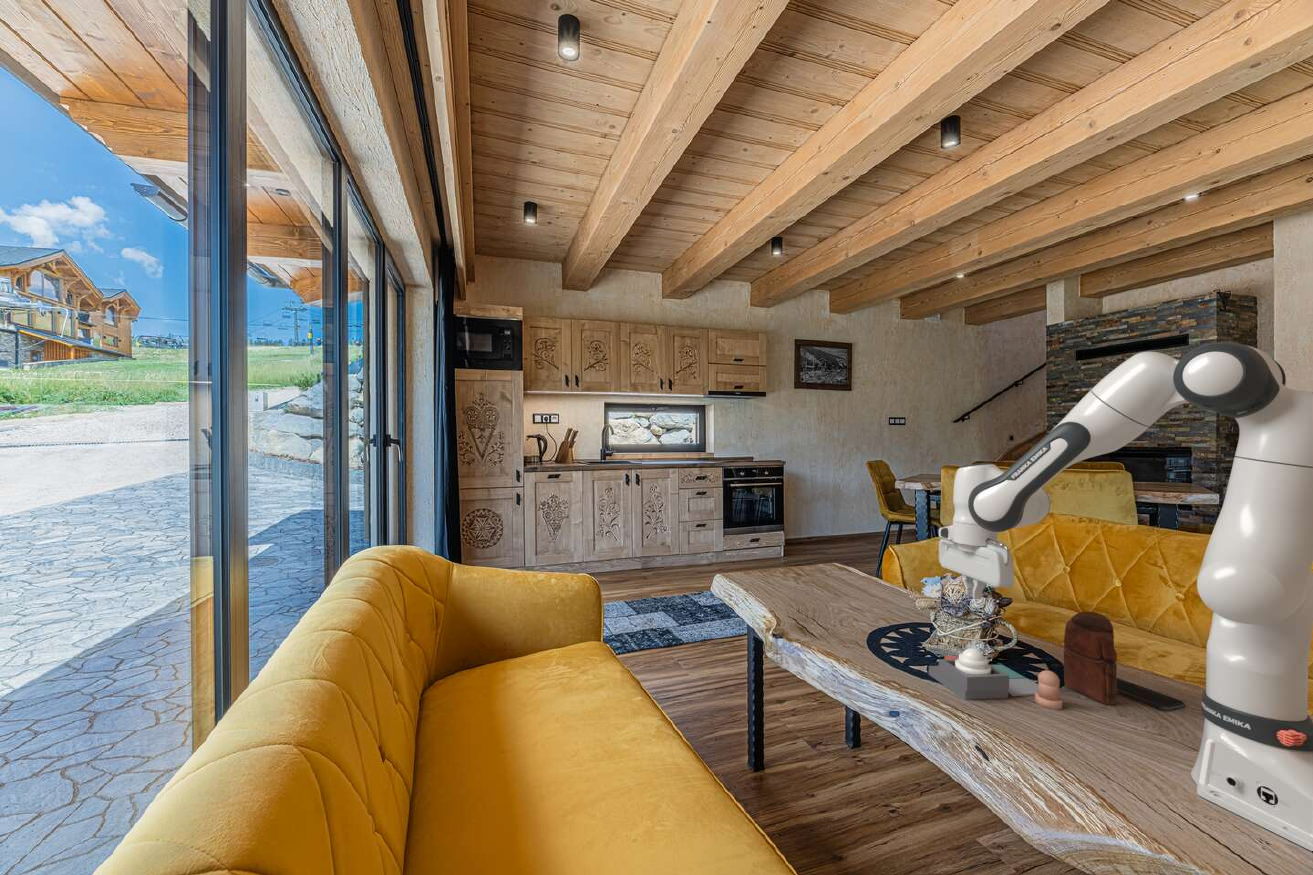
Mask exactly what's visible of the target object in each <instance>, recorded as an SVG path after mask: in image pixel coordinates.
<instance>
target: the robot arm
mask: <svg viewBox="0 0 1313 875" xmlns="http://www.w3.org/2000/svg"><path fill="white" fill-rule="evenodd" d="M1286 377H1287V376H1286V373H1285V371H1284V368H1283V366H1281V364H1280V363H1279V362H1278V361H1276V360H1275V359H1274V358H1272V357H1271V356H1270V355H1269V354H1268V353H1266V352H1265V351H1263V350H1261V349H1258V348H1256V347H1253V346H1251V345H1246V344H1242V343H1239V342H1236V341H1233V342H1232V341H1215V342H1210V343H1207V344H1203V345H1200V346H1198V347H1195V348H1193V349H1192V350H1190V351H1189V352H1187V353H1186V354H1184V355H1183V356H1182V357H1181V359H1177V358H1175V357H1172V356H1171V355H1169V354H1165V353H1162V352H1158V351H1141V352H1138V353H1135V354H1134V355H1132V356H1131V357H1129V358H1128V359H1127V360H1125V361H1124V362H1122V363H1120V364H1119V365H1117V367H1115V368H1114V369H1113V370H1111V371H1110V372H1109V373H1108V374H1106V375H1105V376H1104V377H1103V378H1102V379H1101V380H1100V381H1098V383H1096V384H1095V385H1094V386H1093V387H1092V388H1091V389H1090V390H1089V391H1088V392H1087V393H1086V394H1085V395H1084V396H1083V397H1082V398H1081V400H1079V401H1078V402H1077V404H1075V406H1074V407H1072V409H1071V410H1070V411H1069V412H1068V413H1067V414H1066V415H1065V416H1064V417H1063V418H1062V419H1061V420H1060V421H1059V422H1058V424H1057V425H1055V426H1054V427H1053V428H1052V430H1051V431H1050V432H1049V433H1047V434H1046V435H1045V436H1043V438H1042V439H1040V440H1039V441H1038V442H1037V443H1036V444H1034V445H1033V447H1031V448H1030V449H1029V450H1028V451H1027V452H1026V453H1024V454H1023V456H1021V457H1020V458H1019V459H1018V460H1017V461H1016V462H1014V463H1013V464H1012V465H1011V466H1009V468H1008V469H1006V470H1005V471H1003V470H1002V469H1000V468H999V467H998V466H997V465H996V464H994V463H991V462H982V463H970V464H965V465H962V466H960V467H959V468H958V469H957V470H956V473H955V474H954V481H953V490H952V491H953V494H952V502H953V506H954V514H953V517H952V524H951V525H949V526H948V525H947V526H943V527H939V529H938V536H939V538H940V539H939V542H938V543H939V544H938V562H939V564H940V565H941V566H940V567H942V568H943V569H946V570H949V571H951V572H955V573H957V574H960V575H961V576H962V577H961V579H962V580H961V581H962V582H963V585H964V587H965V595H966V596H968V597H970V598H973V600H974V599H975V600H981V599H982V597H983V595H982V594H983V591H984V589H985V587H986V585H987V584H988V585H990V586H993V587H996V588H1002V589H1003V588H1004V589H1005V588H1012V587H1013V585H1014V584H1015V570H1014V563H1013V562H1014V561H1013V557H1012V554H1011V550H1010V549H1009V548H1008V546H1007V545H1006V543H1005V542H1002V541H999V535H998V534H999V533H1002V532H1005V531H1009V530H1012V529H1016V528H1023V527H1028V526H1033V525H1036V524H1038V523H1040V522H1041V521H1043V520H1044V519H1046V517H1047V516H1048V515H1049V512H1050V510H1051V501H1050V497H1049V495H1048V493H1047V491H1046V490H1045V489H1044V488H1043V487H1045V486H1046V485H1047V484H1048V483H1049V482H1051V481H1052V480H1053V479H1054V478H1056V477H1057V475H1059V474H1060V473H1061V472H1063V471H1064V470H1065V469H1067V468H1068V467H1070V466H1072V465H1074V464H1077V463H1080V462H1081V461H1084V460H1088V459H1090V458H1095V457H1097V456H1101V455H1106V454H1110V453H1112V452H1116V451H1118V450H1120V449H1121V448H1123V447H1125V446H1126V445H1127V444H1129V443H1131V442H1133V441H1134V440H1136V439H1137V438H1138V437H1140V436H1141V435H1142V434H1143V433H1145V432H1146V430H1148V429H1149V428H1150V427H1151V426H1152V425H1153V424H1154V423H1155V422H1157V421H1158V420H1159V419H1160V418H1161V417H1163V415H1165V414H1166V413H1167V412H1169V411H1170V410H1172V409H1173V408H1175V407H1178V406H1180V405H1183V404H1191V405H1193V406H1195V407H1197V408H1200V409H1203V410H1207V411H1209V412H1211V413H1212V412H1213V413H1217V414H1219V415H1222V416H1225V417H1229V418H1231V419H1235V421H1236V422H1237V424H1238V428H1239V435H1238V442H1237V447H1236V450H1235V454H1234V458H1233V461H1232V462H1233V463H1232V468H1231V471H1230V475H1229V479H1228V484H1227V488H1226V492H1225V496H1224V500H1223V503H1222V508H1221V510H1220V513H1219V515H1218V517H1217V520H1216V523H1215V524H1214V528H1213V530H1212V533H1211V534H1210V535H1211V536H1210V538H1209V541H1208V544H1207V546H1206V550H1205V553H1204V555H1203V559H1202V563H1201V565H1200V569H1199V572H1198V574H1197V578H1196V579H1197V580H1196V589H1197V592H1198V596H1200V597H1199V598H1200V600H1202V602H1203V603H1204V605H1205V606H1206V607H1207V608H1208V609H1210V610H1211V611H1212V612H1213V613H1212V617H1211V618H1212V619H1211V625H1210V629H1209V634H1208V640H1207V641H1206V652H1205V653H1206V654H1205V655H1206V658H1205V660H1206V661H1205V662H1206V663H1205V664H1206V665H1205V680H1206V681H1205V690H1204V691H1203V692H1202V698H1201V714H1202V716H1203V719H1204V724H1203V731H1202V739H1201V743H1200V747H1199V751H1198V755H1197V758H1196V761H1195V763H1194V765H1193V768H1192V769H1191V772H1190V775H1191V778H1192V780H1194V781H1193V782H1195V783H1196V794H1197V795H1199V796H1200V797H1202V798H1203V799H1205V800H1207V801H1209V802H1211V803H1213V804H1216V805H1218V806H1219V807H1222V808H1224V809H1225V810H1227V811H1229V812H1231V813H1233V814H1236V815H1237V816H1239V817H1242V818H1243V819H1245V820H1247V821H1250V822H1251V823H1253V824H1256V825H1258V826H1259V827H1261V828H1264V829H1266V830H1268V831H1270V832H1271V833H1274V834H1276V835H1278V836H1280V837H1282V838H1284V839H1286V840H1288V841H1291V842H1292V843H1294V844H1296V845H1298V846H1300V847H1302V848H1304V849H1306V850H1308V851H1310V852H1312V851H1313V720H1312V718H1311V716H1310V715H1308V711H1309V708H1308V707H1309V705H1308V704H1309V703H1308V701H1309V700H1308V699H1309V697H1308V696H1309V695H1308V694H1309V693H1308V692H1309V686H1308V685H1309V660H1310V652H1311V643H1312V636H1313V635H1312V634H1313V571H1312V567H1313V566H1312V565H1313V392H1312V391H1309V390H1308V391H1307V390H1306V391H1305V390H1296V389H1291V388H1289V387H1287V386H1286V383H1287V380H1286Z"/></svg>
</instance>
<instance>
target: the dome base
mask: <svg viewBox="0 0 1313 875" xmlns="http://www.w3.org/2000/svg"><path fill="white" fill-rule="evenodd" d="M957 659H959V657H957V656H955V655H945V656H944V658H943V659H941V658H940V659H938V665H929V666H928V676H930V677H931V678H933V679H934V680H936V681H937V682H939V683H940V684H941V685H943V686H945V687H946V688H947V689H949V690H950V691H951V692H953V693H954V694H956V695H957V696H959V697H960V698H962V699H963V700H964V701H966V700H967V701H970V700H971V701H973V700H990V699H991V700H992V699H993V700H997V699H1008V698H1009V694H1008V690H1009V675H1007V674H1005V673H1004V672H1002V671H1000V670H998V669H996V668H995V667H993V666H991V665H992V664H989V663H987V664H988V665H989V666H990V667H991V674H986V675H967V674H966V673H964V672H963V671H961V670H959V669H958V668H956V667H955V660H957Z"/></svg>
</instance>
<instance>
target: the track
mask: <svg viewBox="0 0 1313 875" xmlns="http://www.w3.org/2000/svg"><path fill="white" fill-rule="evenodd" d="M990 665H991V666H993V667H995V668H996V669H998V670H1000V671H1002V672H1004V673H1005V674H1007V675H1009V690H1008V696H1011V697H1027V696H1029V697H1030V696H1035V693H1037V692H1038V683H1036V682H1035V681H1032V680H1030V679H1029V678H1027V677H1025V676H1024V675H1022V674H1019V673H1018V672H1017V671H1014V670H1012V669H1010V667H1007V666H1005V665H1003V664H990Z"/></svg>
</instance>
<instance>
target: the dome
mask: <svg viewBox="0 0 1313 875" xmlns="http://www.w3.org/2000/svg"><path fill="white" fill-rule="evenodd" d="M958 658H959V659H957V660H955V667H956V668H958V669H959V670H961V671H963V672H964V673H966V674H967V675H986V674H991V667H990V666H989V665H990V664H989V663H988V658H987V657H986V656H984V655H983V653H982V652H981V651H980V650H978V649H976V648H973V647H971V648H970V647H969V648H967V649H965V650H963V652H960V653H959V654H958ZM987 663H988V664H989V665H988V664H987Z"/></svg>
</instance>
